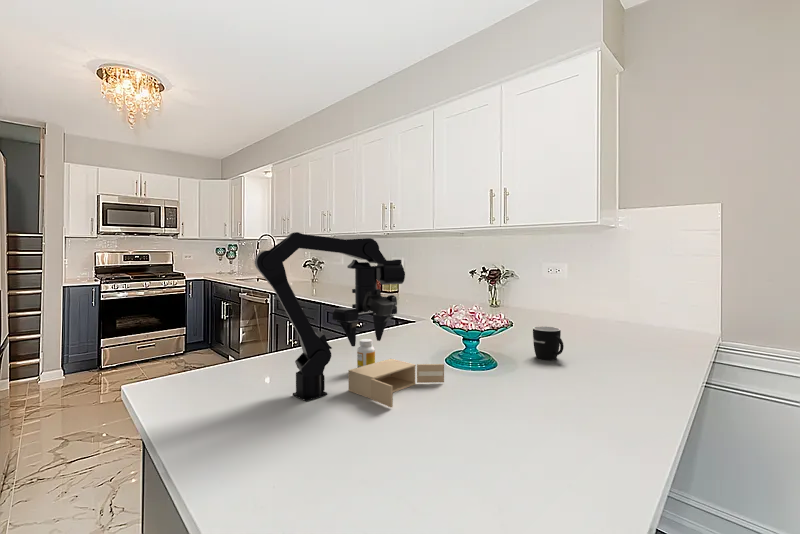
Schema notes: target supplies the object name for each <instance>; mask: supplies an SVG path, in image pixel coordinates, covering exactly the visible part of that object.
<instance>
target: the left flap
mask: <svg viewBox="0 0 800 534" xmlns="http://www.w3.org/2000/svg"><path fill="white" fill-rule="evenodd" d="M393 393H394V392H393V386H391V385H389V384H386V383H383V382H380V381H378V380H375V379H371V398H370V400H371V401H375V402H377V403H380V404H382V405H384V406H387V407H389V408H393V407H394V405H393V403H394V402H393V401H394V399H393V397H394V394H393Z"/></svg>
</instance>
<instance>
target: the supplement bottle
mask: <svg viewBox="0 0 800 534" xmlns="http://www.w3.org/2000/svg"><path fill="white" fill-rule="evenodd" d="M373 343H374V342H373V339H370V338H362V339H359V343H358V344H359V346H358V347H357V350H356V355H357V356H356V357H357V358H356V360H357V365H356V368H358V367H362V366H366V365H369V364H373V363H376V349H375V347H374V346H373Z"/></svg>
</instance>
